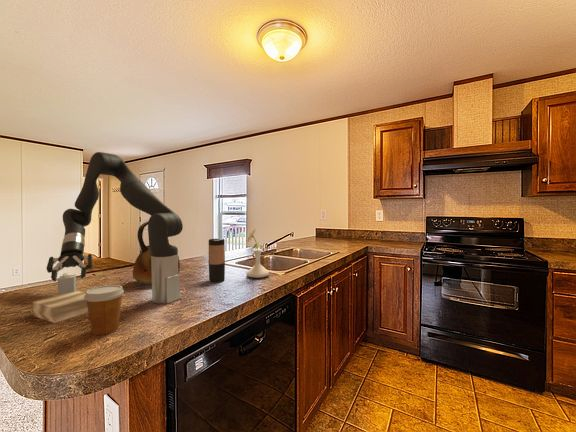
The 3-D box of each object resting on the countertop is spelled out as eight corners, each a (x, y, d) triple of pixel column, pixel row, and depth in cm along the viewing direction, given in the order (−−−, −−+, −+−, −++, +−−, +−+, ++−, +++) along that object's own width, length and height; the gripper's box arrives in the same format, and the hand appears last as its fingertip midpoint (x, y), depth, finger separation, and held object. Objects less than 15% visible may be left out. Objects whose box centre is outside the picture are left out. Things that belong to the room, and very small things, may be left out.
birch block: (98, 309, 96) (98, 295, 95) (54, 324, 84) (53, 308, 84) (77, 304, 101) (77, 290, 101) (33, 316, 89) (32, 301, 89)
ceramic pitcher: (187, 281, 130) (186, 219, 130) (143, 291, 115) (141, 220, 114) (168, 274, 143) (168, 218, 142) (126, 282, 128) (125, 219, 127)
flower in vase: (254, 273, 147) (254, 226, 146) (273, 275, 142) (272, 227, 141) (240, 278, 135) (239, 228, 134) (259, 281, 130) (259, 229, 129)
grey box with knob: (79, 296, 109) (78, 270, 109) (76, 300, 104) (76, 274, 103) (58, 298, 106) (58, 272, 106) (54, 303, 100) (54, 276, 100)
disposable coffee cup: (98, 323, 83) (97, 284, 83) (130, 322, 84) (130, 284, 83) (76, 338, 74) (75, 294, 73) (113, 337, 74) (112, 293, 74)
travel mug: (210, 283, 127) (210, 240, 126) (207, 279, 134) (206, 239, 133) (226, 281, 130) (226, 239, 130) (222, 277, 137) (222, 238, 136)
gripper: (49, 241, 110) (42, 275, 100) (92, 239, 117) (89, 271, 108) (53, 252, 115) (46, 286, 105) (94, 249, 122) (91, 281, 112)
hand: (68, 278), depth 106 cm, fingers open, 8 cm apart
